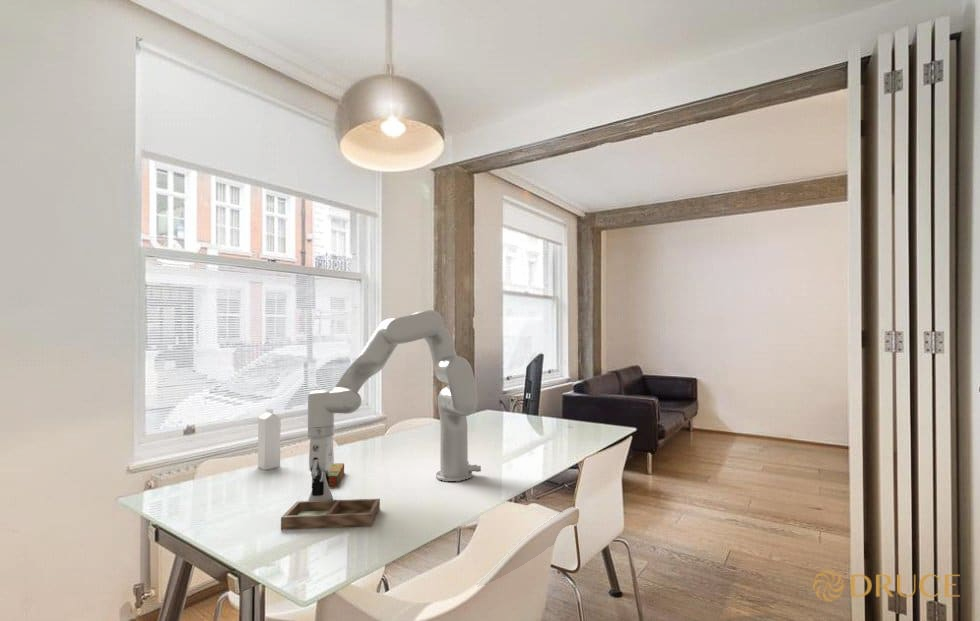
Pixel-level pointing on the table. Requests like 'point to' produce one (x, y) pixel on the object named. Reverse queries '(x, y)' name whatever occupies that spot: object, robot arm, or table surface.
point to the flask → (327, 492)
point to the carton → (335, 474)
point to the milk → (269, 440)
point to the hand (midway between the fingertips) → (320, 491)
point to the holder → (331, 514)
